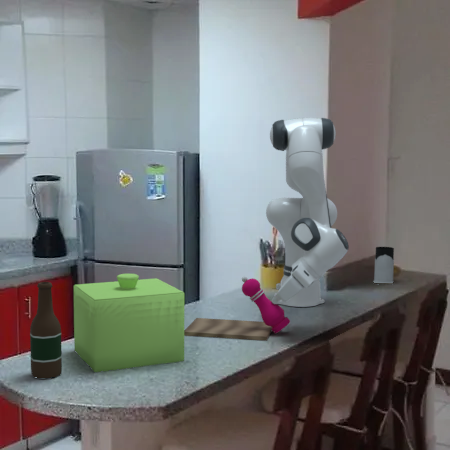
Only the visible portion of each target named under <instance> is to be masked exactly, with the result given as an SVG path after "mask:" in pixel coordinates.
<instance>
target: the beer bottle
mask: <svg viewBox="0 0 450 450" xmlns="http://www.w3.org/2000/svg"><path fill="white" fill-rule="evenodd" d="M36 286H37V287H36V288H37V289H38V292H37V310H36V314H35V316H34V317H33V319H32V321H31V324H30V328H29V329H30V330H29V337H30V339H29V340H30V341H29V342H30V343H29V344H30V345H29V346H30V372H31V373H30V374H31V376H32V377H33V376H34V377H37V378H51V377H56V376H58V375H59V376H61V375H62V368H63V367H62V366H63V365H62V360H63V359H62V358H63V356H62V328H61V323H60V321H59V319H58V318H57V316H56V315H55V312H54V306H53V296H52V295H53V293H52V288H53V284H52V282H50V281H41V282H38V283H37V285H36ZM60 374H61V375H60ZM59 376H58V377H59ZM34 377H33V378H34ZM37 378H36V379H37ZM56 378H57V377H56ZM51 379H52V378H51Z"/></svg>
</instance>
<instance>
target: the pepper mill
mask: <svg viewBox="0 0 450 450" xmlns="http://www.w3.org/2000/svg"><path fill="white" fill-rule="evenodd" d="M241 281H242V282H243V283H242V285H241V291H242V293H243V294H244V295H243V296H246V297H249V300H251V302H253V303H254V304H255V305H256V306H257V307H258V309H259V312H260V315H261V319H262V322H264V323H265V324H266V325H267V326H271V327H272V332H273V333H274V334H278V333H279V332H281V331H282V330H283V329H285V328H286V327H288V325H289V324H290V323H291V320H290V319H289V318H288V316H285V310H284V309H283V308H282V306H280V304H273V303H272V302H271V300H270V299H269V298H268V297H267V295H266V294H265V290H264V289H263V288H261V284H260V281H258V280H257V279H256V278H248V277H247V276H243V277H242V278H241Z"/></svg>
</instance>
